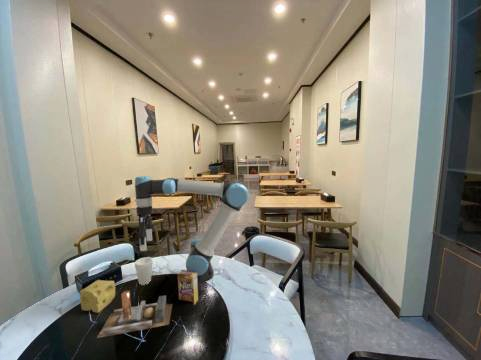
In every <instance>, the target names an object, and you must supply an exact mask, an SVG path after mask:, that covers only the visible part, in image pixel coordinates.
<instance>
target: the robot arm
mask: <svg viewBox="0 0 481 360" xmlns="http://www.w3.org/2000/svg"><path fill="white" fill-rule="evenodd" d="M134 189H135V190H134V191H135V200H134V202H136V203H135V204H136V205H135V206H136V215H138V216H139V215H140V217H139V218H138V231H137V240H138V239H139V251H140V252H144V251H147V242H151V241H153V229H154V226H153V221H152V216H151V214H152V213H153V195H171V194H174V193H177V192H178V193H189V194H190V193H191V194H197V195H198V194H200V195H210V196H218V197H220V198H221V200H220V203H221V206H220V207H219V209H218V210H217V212H216V214H215V216H214V217H213V219H212V221H211V222H210V224H209V226H208V227H207V229H206V231H205V233H204V234H203V235H202V237H201V238H195V239H192V240H191V241H190V245H189V246H190V250H189V253H188V256H187V259H185V260H186V262H185V270H187V271H193V272H197V284H201V283H206V282H208V281H210V280H211V279H213V278H214V275H215V274H214V268H213V265H212V263H211V260H212V258H213V257H214V255H215V252H214V251H215V248H216V246H217V245H218V243H219V241H220V240H221V238H222V236H223V234H224V233H225V231H226V229H227V227H228V226H229V224H230V222H231V221H232V219H233V217H234V216H235V214H236V213H239V212H240V210H242V208H243V206H245V205H246V203H247V202H248V200H249V195H250V194H249V190H248V188H247V187H246V185H244V184H243V183H241V182H239V181H222V182H211V181H201V180H193V179H192V180H191V179H182V178H181V179H180V178H174V177H167V178H163V179H152V178H151V176H149V175H148V176H145V175H144V176H136V177H135V178H134Z"/></svg>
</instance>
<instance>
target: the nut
mask: <svg viewBox="0 0 481 360" xmlns="http://www.w3.org/2000/svg"><path fill="white" fill-rule="evenodd" d="M153 314H154V309H153V308H151V307H150V308H147V309H146V310H145V313H144V316H145V317H146V318H151V317H152V316H153Z"/></svg>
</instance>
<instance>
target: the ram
mask: <svg viewBox="0 0 481 360" xmlns="http://www.w3.org/2000/svg"><path fill="white" fill-rule="evenodd" d="M121 305H122V306H121V307H122V308H121V309H122V310H123V313H122V315H121V317H120V319H119V321H118V326H122V325H127V324H133V323H139V322H142V321H143V318H144V313H145V310H146V305H147V304H146V300H141V301H140V303H139V305H138V306H139V308H134V309H131V307H132V303H131V291H130V290H124V291H122V292H121Z"/></svg>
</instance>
